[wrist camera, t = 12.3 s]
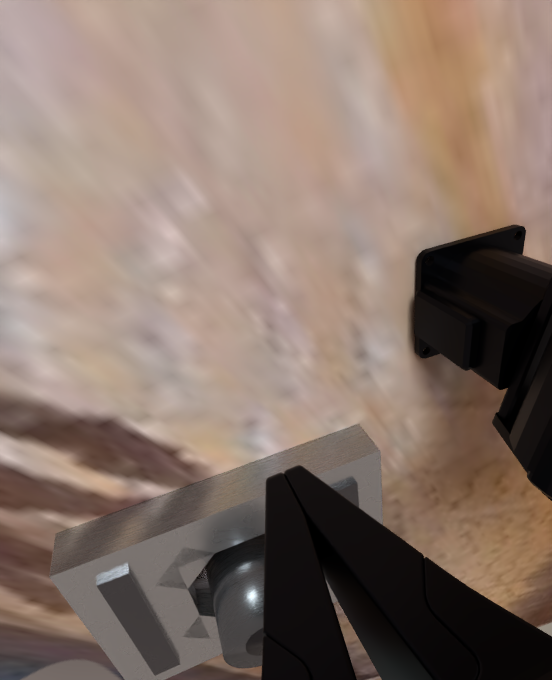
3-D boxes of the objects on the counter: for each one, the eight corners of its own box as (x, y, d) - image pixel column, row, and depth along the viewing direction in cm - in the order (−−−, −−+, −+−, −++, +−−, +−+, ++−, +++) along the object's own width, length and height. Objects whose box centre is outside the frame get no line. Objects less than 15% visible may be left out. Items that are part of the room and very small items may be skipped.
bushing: (270, 504, 27) (306, 595, 22) (282, 550, 29) (317, 641, 24) (193, 535, 26) (213, 638, 21) (213, 580, 28) (234, 681, 23)
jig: (359, 424, 26) (383, 454, 24) (367, 550, 33) (387, 583, 30) (55, 534, 22) (48, 582, 20) (133, 651, 29) (135, 698, 27)
